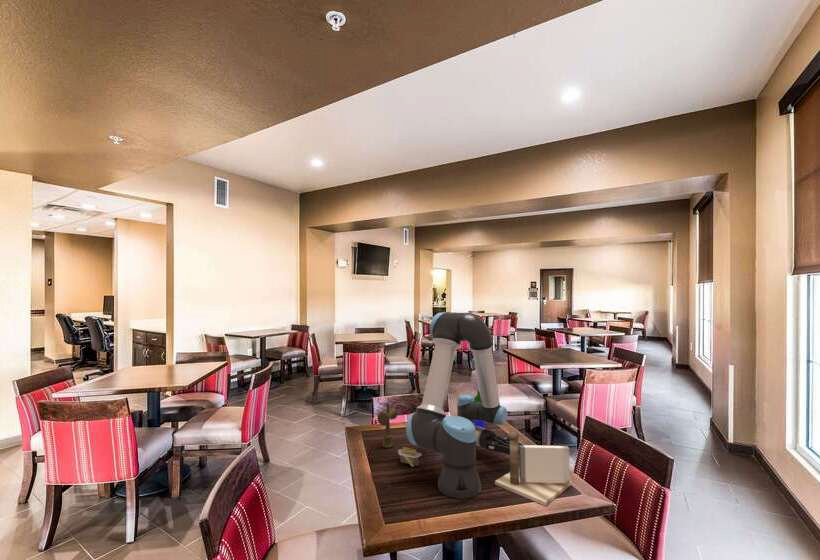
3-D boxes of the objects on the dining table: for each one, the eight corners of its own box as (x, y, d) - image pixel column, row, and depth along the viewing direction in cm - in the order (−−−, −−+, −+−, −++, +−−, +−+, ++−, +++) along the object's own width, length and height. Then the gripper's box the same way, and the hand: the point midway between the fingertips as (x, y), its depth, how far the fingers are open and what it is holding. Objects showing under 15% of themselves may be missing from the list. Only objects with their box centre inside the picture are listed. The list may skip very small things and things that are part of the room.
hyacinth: (491, 431, 185) (491, 371, 186) (471, 431, 185) (471, 371, 186) (488, 425, 193) (488, 367, 195) (469, 425, 194) (468, 367, 195)
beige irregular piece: (423, 476, 138) (423, 459, 138) (381, 467, 146) (381, 450, 146) (434, 464, 149) (434, 447, 149) (395, 456, 157) (395, 440, 157)
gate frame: (545, 506, 118) (544, 444, 119) (495, 484, 132) (494, 429, 133) (571, 484, 132) (570, 429, 133) (523, 466, 146) (522, 417, 147)
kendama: (376, 449, 162) (376, 403, 163) (386, 441, 171) (386, 398, 172) (388, 451, 160) (388, 405, 161) (398, 443, 169) (398, 399, 170)
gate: (520, 482, 130) (520, 447, 130) (519, 479, 132) (519, 445, 132) (569, 483, 129) (569, 448, 129) (567, 480, 131) (567, 446, 131)
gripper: (492, 442, 159) (544, 460, 141) (474, 451, 150) (526, 471, 133) (492, 425, 159) (543, 440, 142) (473, 432, 150) (525, 450, 133)
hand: (535, 455), depth 137 cm, fingers closed
